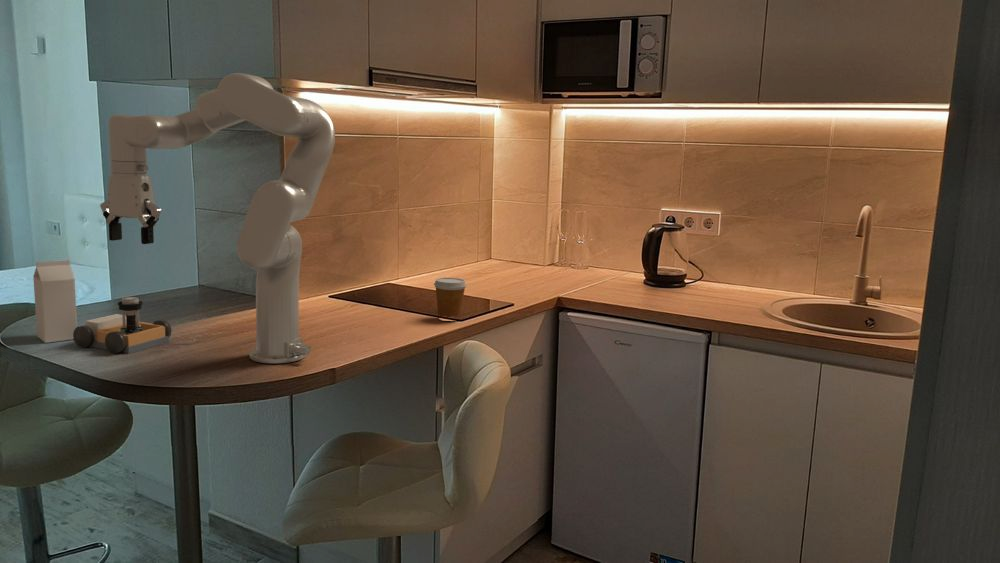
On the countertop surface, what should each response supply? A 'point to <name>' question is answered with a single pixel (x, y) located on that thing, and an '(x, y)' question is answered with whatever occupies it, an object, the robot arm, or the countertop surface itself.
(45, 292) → the milk carton
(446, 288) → the disposable coffee cup
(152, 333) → the chassis
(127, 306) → the push button
